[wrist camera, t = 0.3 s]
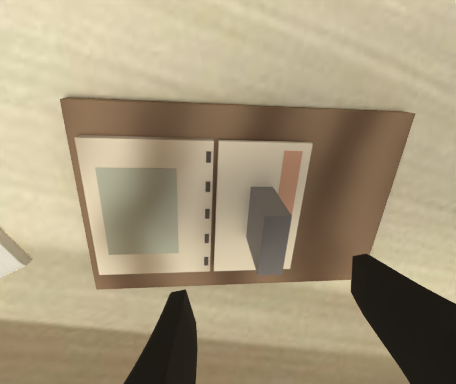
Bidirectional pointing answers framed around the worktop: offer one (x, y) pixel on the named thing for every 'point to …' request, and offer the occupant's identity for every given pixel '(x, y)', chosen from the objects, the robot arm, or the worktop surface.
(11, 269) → the external hard drive
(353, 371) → the worktop surface
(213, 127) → the ticket board
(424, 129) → the worktop surface
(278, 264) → the stub
